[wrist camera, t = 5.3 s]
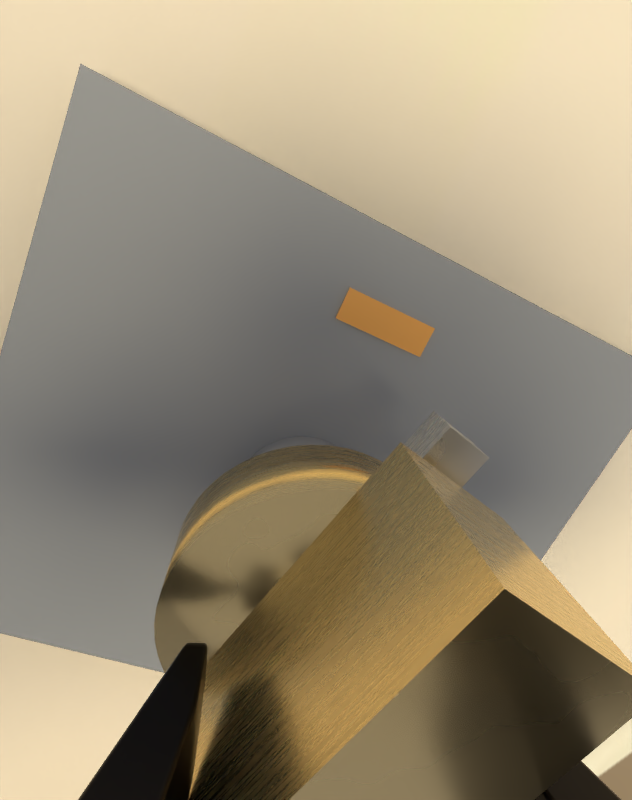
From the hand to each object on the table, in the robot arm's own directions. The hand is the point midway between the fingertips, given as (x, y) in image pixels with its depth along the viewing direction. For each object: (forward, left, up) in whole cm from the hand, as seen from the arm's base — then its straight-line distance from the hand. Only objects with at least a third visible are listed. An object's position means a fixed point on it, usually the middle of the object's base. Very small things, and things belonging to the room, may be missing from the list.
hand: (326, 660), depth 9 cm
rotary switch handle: (0, 0, -3) cm, 3 cm away
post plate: (0, 0, -8) cm, 8 cm away
